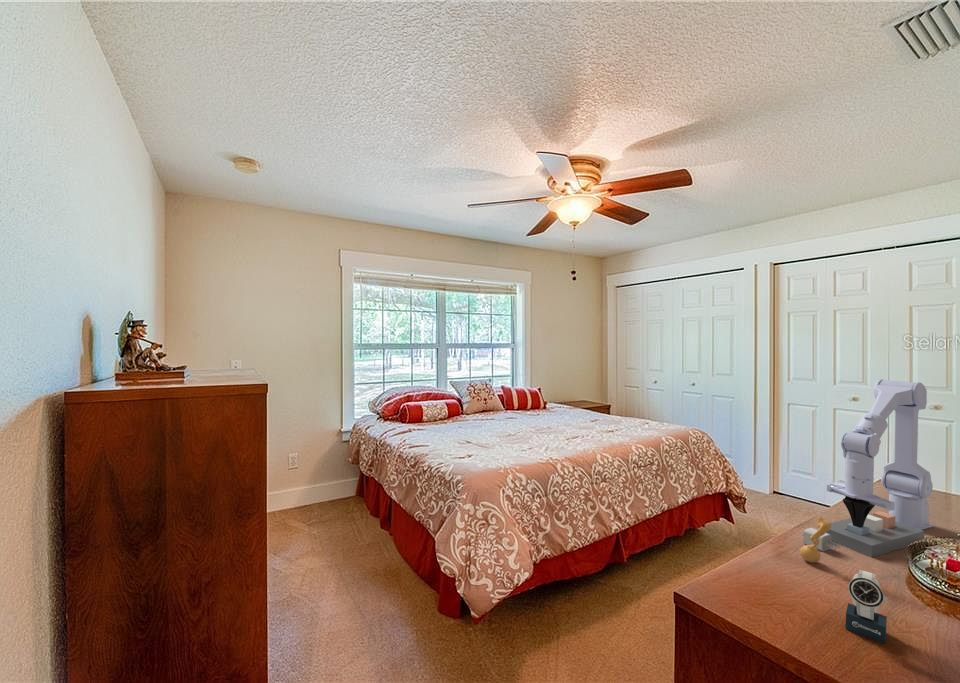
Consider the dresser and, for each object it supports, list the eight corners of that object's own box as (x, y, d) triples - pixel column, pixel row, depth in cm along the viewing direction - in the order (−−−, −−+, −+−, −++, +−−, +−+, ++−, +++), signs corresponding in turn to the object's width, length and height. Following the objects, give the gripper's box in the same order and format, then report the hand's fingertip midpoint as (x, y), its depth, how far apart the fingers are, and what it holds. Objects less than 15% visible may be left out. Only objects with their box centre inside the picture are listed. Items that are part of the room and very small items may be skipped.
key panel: (870, 523, 127) (871, 513, 126) (924, 541, 115) (924, 530, 115) (819, 536, 118) (819, 525, 118) (871, 557, 107) (871, 545, 107)
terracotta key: (880, 523, 121) (880, 511, 121) (895, 528, 118) (895, 515, 118) (873, 525, 120) (873, 512, 120) (888, 530, 117) (888, 517, 117)
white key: (867, 526, 119) (867, 514, 119) (882, 531, 116) (882, 519, 116) (860, 528, 118) (860, 515, 118) (875, 533, 114) (875, 520, 114)
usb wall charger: (812, 541, 115) (812, 527, 115) (842, 553, 109) (842, 538, 109) (803, 544, 113) (803, 529, 113) (833, 556, 107) (833, 541, 107)
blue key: (854, 534, 117) (854, 522, 117) (869, 540, 114) (869, 527, 114) (846, 536, 116) (846, 524, 116) (861, 542, 112) (861, 529, 112)
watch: (844, 633, 79) (845, 576, 79) (848, 614, 85) (849, 560, 85) (885, 650, 75) (887, 589, 75) (887, 628, 81) (888, 572, 81)
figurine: (807, 553, 109) (808, 507, 108) (836, 564, 103) (837, 516, 103) (793, 562, 104) (794, 515, 104) (823, 574, 99) (824, 524, 99)
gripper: (820, 470, 120) (819, 517, 120) (883, 487, 106) (882, 540, 106) (835, 467, 122) (834, 513, 122) (899, 484, 109) (898, 536, 109)
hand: (858, 526), depth 115 cm, fingers closed, pressing on blue key
